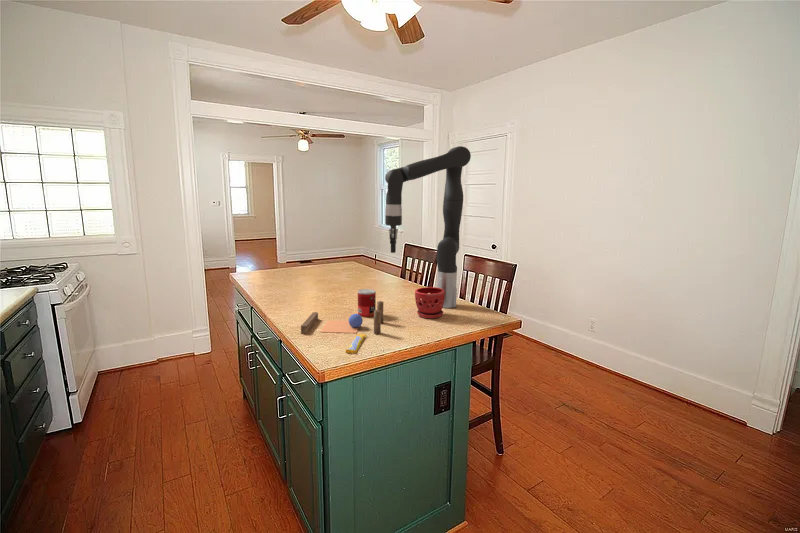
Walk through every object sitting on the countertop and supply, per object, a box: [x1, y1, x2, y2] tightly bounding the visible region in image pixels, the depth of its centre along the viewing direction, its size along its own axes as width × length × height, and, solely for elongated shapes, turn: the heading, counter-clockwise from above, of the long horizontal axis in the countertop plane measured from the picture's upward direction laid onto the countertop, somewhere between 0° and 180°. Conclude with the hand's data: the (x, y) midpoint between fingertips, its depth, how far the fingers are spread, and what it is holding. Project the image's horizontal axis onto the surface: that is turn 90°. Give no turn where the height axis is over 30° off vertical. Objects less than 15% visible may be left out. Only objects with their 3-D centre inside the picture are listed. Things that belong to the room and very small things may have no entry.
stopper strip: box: [300, 311, 319, 335], centre depth 153 cm, size 2×18×3 cm, turn 178°
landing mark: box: [320, 320, 360, 334], centre depth 153 cm, size 14×14×1 cm
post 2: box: [373, 309, 382, 335], centre depth 145 cm, size 3×3×9 cm
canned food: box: [357, 288, 377, 318], centre depth 168 cm, size 8×8×11 cm
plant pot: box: [414, 286, 445, 320], centre depth 168 cm, size 13×13×12 cm
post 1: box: [376, 300, 384, 325], centre depth 158 cm, size 3×3×9 cm
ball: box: [348, 313, 364, 329], centre depth 152 cm, size 6×6×6 cm
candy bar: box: [345, 333, 367, 354], centre depth 134 cm, size 17×4×2 cm, turn 173°
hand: (393, 252), depth 174 cm, fingers closed
